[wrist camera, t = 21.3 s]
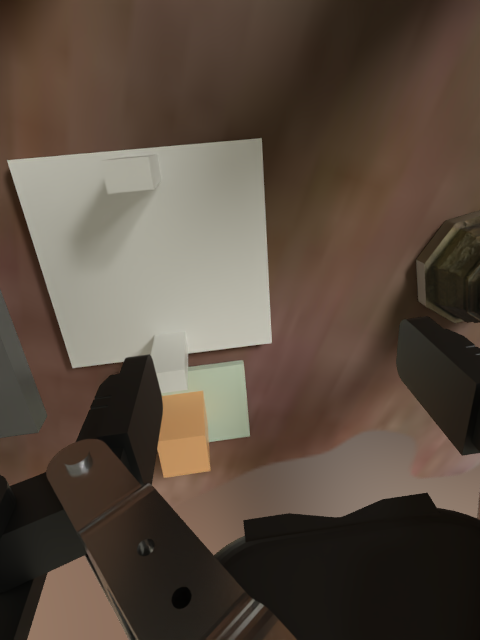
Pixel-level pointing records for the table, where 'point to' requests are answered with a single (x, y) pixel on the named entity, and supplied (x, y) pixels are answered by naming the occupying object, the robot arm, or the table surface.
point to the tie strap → (16, 384)
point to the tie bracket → (152, 251)
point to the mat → (221, 398)
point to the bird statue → (452, 270)
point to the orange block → (184, 435)
